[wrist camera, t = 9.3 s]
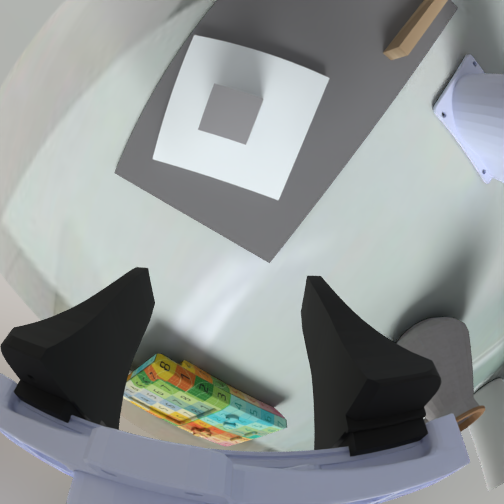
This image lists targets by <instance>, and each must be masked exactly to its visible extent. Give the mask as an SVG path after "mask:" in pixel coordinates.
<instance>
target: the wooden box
mask: <svg viewBox="0 0 504 504" xmlns="http://www.w3.org/2000/svg"><path fill="white" fill-rule="evenodd" d="M447 1H448V0H424V1H423V2H422V3H421V5H420V6H419V7H418V8H417V10H416V11H415V12H414V14H413V15H412V16H411V17H410V19H409V20H408V21H407V22H406V24H405V25H404V26H403V28H402V29H401V30H400V31H399V33H398V34H397V35H396V37H395V38H394V39H393V40H392V42H391V43H390V44H389V46H388V47H387V48H386V50H385V51H384V52H383V54H384V55H386V56H387V57H388V58H389V59H390V60H394V59H397V58H401V57H404V56H408V55H409V53H410V52H411V51H412V49H413V48H414V46H415V45H416V44H417V42H418V41H419V40H420V38H421V37H422V35H423V34H424V33H425V31H426V30H427V29H428V27H429V26H430V24H431V23H432V22H433V20H434V19H435V17H436V16H437V15H438V13H439V12H440V10H441V9H442V8H443V6H444V5H445V3H446V2H447Z"/></svg>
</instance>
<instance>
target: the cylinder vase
mask: <svg viewBox="0 0 504 504" xmlns="http://www.w3.org/2000/svg"><path fill="white" fill-rule="evenodd" d="M474 399H475V400H476V402H477V403H478V404H479V405H480V406H481V405H484V406H485V411H484V413H483V414H482V415H481V416H480V417H479V418H478V419H477V420H476V421H475V422H474V423H472V424H471V425H470V426H468V428H469V431H470V434H471V437H472V439H473V442H474V445H475V448H476V451H477V454H478V457H479V460H480V464H481V466H482V471H483V474H484V478H485V482H486V486H487V490H488V491H490V490H492V489H494V488H496V487H498V486H499V485H501V484H503V483H504V381H503V379H501V378H498V379H495V380H493V381H491V382H489V383H488V384H486V385H485V386H483V387H482V388H481V389H479V390H478V391H477V392H476V393H475V394H474Z"/></svg>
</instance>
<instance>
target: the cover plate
mask: <svg viewBox="0 0 504 504" xmlns="http://www.w3.org/2000/svg"><path fill="white" fill-rule="evenodd" d="M328 81H329V78H328V77H326V76H324V75H322V74H319V73H317V72H315V71H312V70H310V69H308V68H305V67H303V66H300V65H298V64H295V63H293V62H290V61H287V60H285V59H282V58H279V57H276V56H273V55H270V54H267V53H264V52H261V51H258V50H254V49H251V48H248V47H244V46H240V45H237V44H233V43H229V42H225V41H221V40H216V39H212V38H207V37H202V36H197V35H194V36H193V39H192V41H191V43H190V46H189V48H188V51H187V53H186V56H185V58H184V61H183V63H182V66H181V69H180V71H179V74H178V77H177V79H176V82H175V85H174V88H173V91H172V94H171V97H170V100H169V103H168V106H167V109H166V112H165V116H164V119H163V122H162V126H161V129H160V133H159V136H158V140H157V144H156V147H155V151H154V155H153V159H154V160H157V161H160V162H164V163H167V164H171V165H174V166H177V167H181V168H184V169H187V170H191V171H194V172H197V173H200V174H203V175H206V176H209V177H213V178H216V179H219V180H222V181H225V182H228V183H231V184H234V185H237V186H239V187H242V188H245V189H248V190H251V191H254V192H257V193H259V194H262V195H265V196H268V197H271V198H273V199H276V200H279V198H280V196H281V193H282V191H283V189H284V186H285V184H286V181H287V179H288V177H289V174H290V172H291V170H292V167H293V165H294V162H295V160H296V158H297V155H298V153H299V150H300V148H301V146H302V143H303V141H304V138H305V136H306V134H307V131H308V129H309V127H310V124H311V122H312V119H313V117H314V115H315V112H316V110H317V107H318V105H319V102H320V100H321V98H322V95H323V93H324V90H325V88H326V86H327V83H328Z"/></svg>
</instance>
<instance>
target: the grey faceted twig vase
mask: <svg viewBox="0 0 504 504" xmlns="http://www.w3.org/2000/svg"><path fill="white" fill-rule="evenodd" d="M396 344H398V345H400V346H402V347H403V348H405V349H407V350H409V351H411V352H413V353H416V354H418V355H420V356H423V357H425V358H428V359H430V360H432V361H433V363H434V365H435V367H436V369H437V371H438V373H439V375H440V377H441V385H440V388H439V390H438V391H437V392H436V394H435V395H434V396H433V397H432V399H431V400H430V401H429V402H428V403H427V404H426V405H425V407H424V408H425V411H426V416H425V419H424V422H425V424H426V423H427V422H429V421H431V420H434V419H436V418H440V417H443V416H446V415H448V414H451V413H452V414H454V416H455V419H456V422H457V424H458V427H459V430H460V432H461V431H462V430H464V429H466V428H467V427H468V426H470V425H471V424H472V423H474V422H475V421H476V420H477V419H478V418H479V417H480V416H481V415H482V414H483V413H484V411H485V406H484V405H481V406H480V405H479V404H478V403H477V402H476V400H475V399H474V388H473V368H472V356H471V346H470V338H469V331H468V329H467V327H466V325H465V324H464V323H463V322H461V321H460V320H458V319H455V318H452V317H439V318H435V317H434V318H429V319H426V320H423V321H421V322H419V323H417V324H416V325H414V326H412V327H411V328H410V329H409V330H407V331H406V332H405V333H404V334H403V335H402V336H401V337H400V339H399V340H398V341H397V343H396Z"/></svg>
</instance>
